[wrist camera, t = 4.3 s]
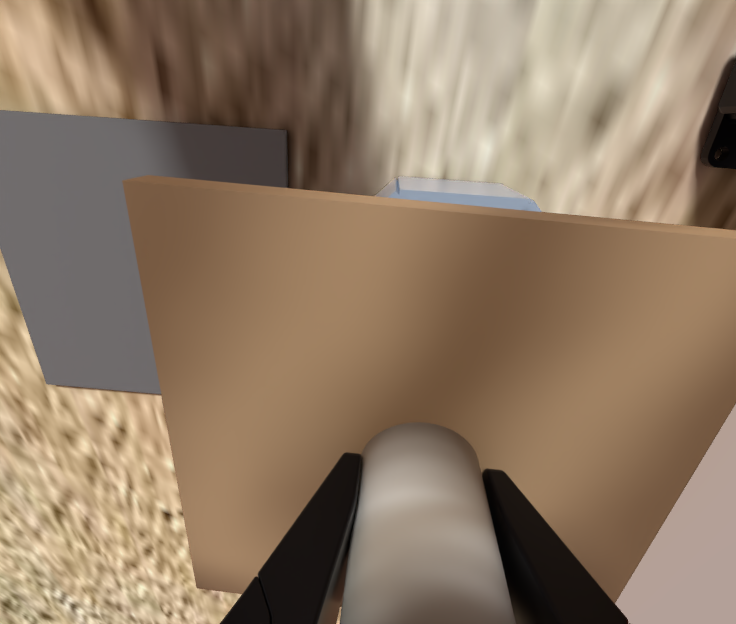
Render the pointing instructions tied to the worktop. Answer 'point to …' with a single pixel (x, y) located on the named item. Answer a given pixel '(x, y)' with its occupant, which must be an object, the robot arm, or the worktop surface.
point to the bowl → (457, 193)
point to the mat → (102, 229)
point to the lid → (428, 379)
